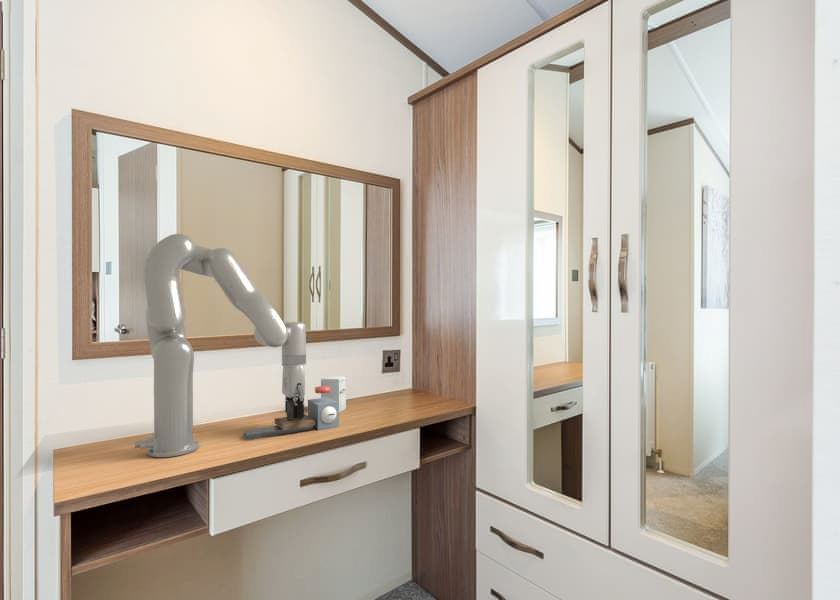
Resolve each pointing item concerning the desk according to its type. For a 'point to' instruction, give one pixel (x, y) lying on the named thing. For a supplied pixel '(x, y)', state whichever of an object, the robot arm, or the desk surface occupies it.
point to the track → (271, 432)
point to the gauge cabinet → (324, 413)
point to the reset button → (322, 389)
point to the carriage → (293, 419)
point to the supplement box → (336, 390)
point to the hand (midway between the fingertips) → (294, 414)
